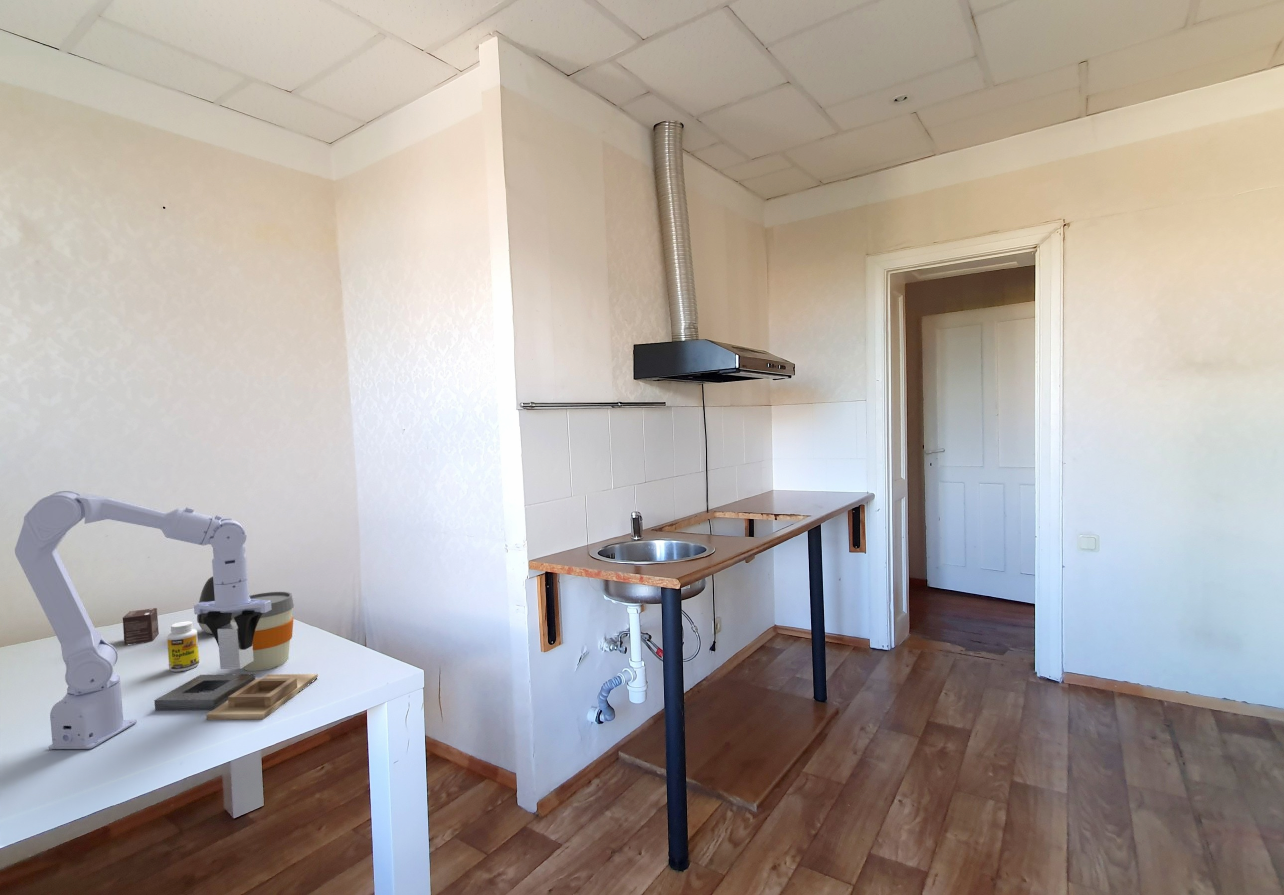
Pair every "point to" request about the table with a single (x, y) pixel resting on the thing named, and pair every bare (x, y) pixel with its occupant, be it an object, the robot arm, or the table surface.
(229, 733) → the table surface
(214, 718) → the rack board
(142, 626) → the box
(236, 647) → the brushed metal block
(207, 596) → the dark grey tall dome
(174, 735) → the table surface
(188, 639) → the supplement bottle
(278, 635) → the reusable coffee cup
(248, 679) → the socket
